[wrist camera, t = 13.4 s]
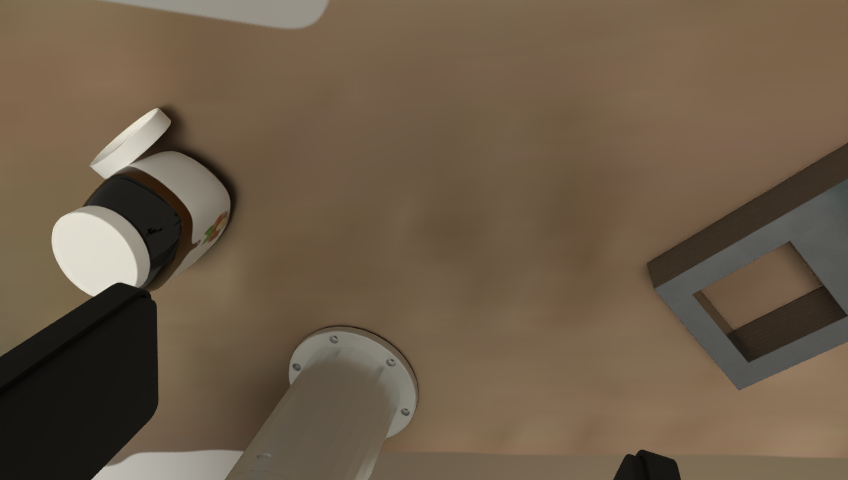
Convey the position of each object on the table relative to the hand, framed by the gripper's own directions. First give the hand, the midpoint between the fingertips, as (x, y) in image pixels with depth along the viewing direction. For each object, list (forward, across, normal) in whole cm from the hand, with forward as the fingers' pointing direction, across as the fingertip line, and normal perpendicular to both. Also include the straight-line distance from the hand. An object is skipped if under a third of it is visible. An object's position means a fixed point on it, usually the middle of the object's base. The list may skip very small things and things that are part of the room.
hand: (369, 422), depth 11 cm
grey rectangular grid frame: (+32, -22, +3) cm, 39 cm away
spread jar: (+33, +26, +13) cm, 44 cm away
